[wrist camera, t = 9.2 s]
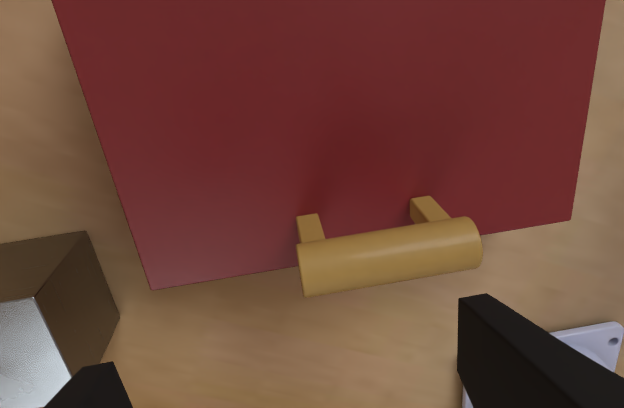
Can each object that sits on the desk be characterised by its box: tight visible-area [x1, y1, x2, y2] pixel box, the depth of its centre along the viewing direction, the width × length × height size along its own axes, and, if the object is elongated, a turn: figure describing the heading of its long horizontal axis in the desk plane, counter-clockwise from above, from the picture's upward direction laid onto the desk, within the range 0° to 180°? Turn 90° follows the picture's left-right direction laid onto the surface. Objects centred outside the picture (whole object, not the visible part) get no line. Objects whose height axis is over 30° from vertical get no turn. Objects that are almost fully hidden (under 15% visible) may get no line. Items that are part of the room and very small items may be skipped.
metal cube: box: [0, 231, 120, 408], centre depth 15 cm, size 4×4×4 cm
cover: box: [52, 0, 606, 298], centre depth 11 cm, size 10×14×4 cm
